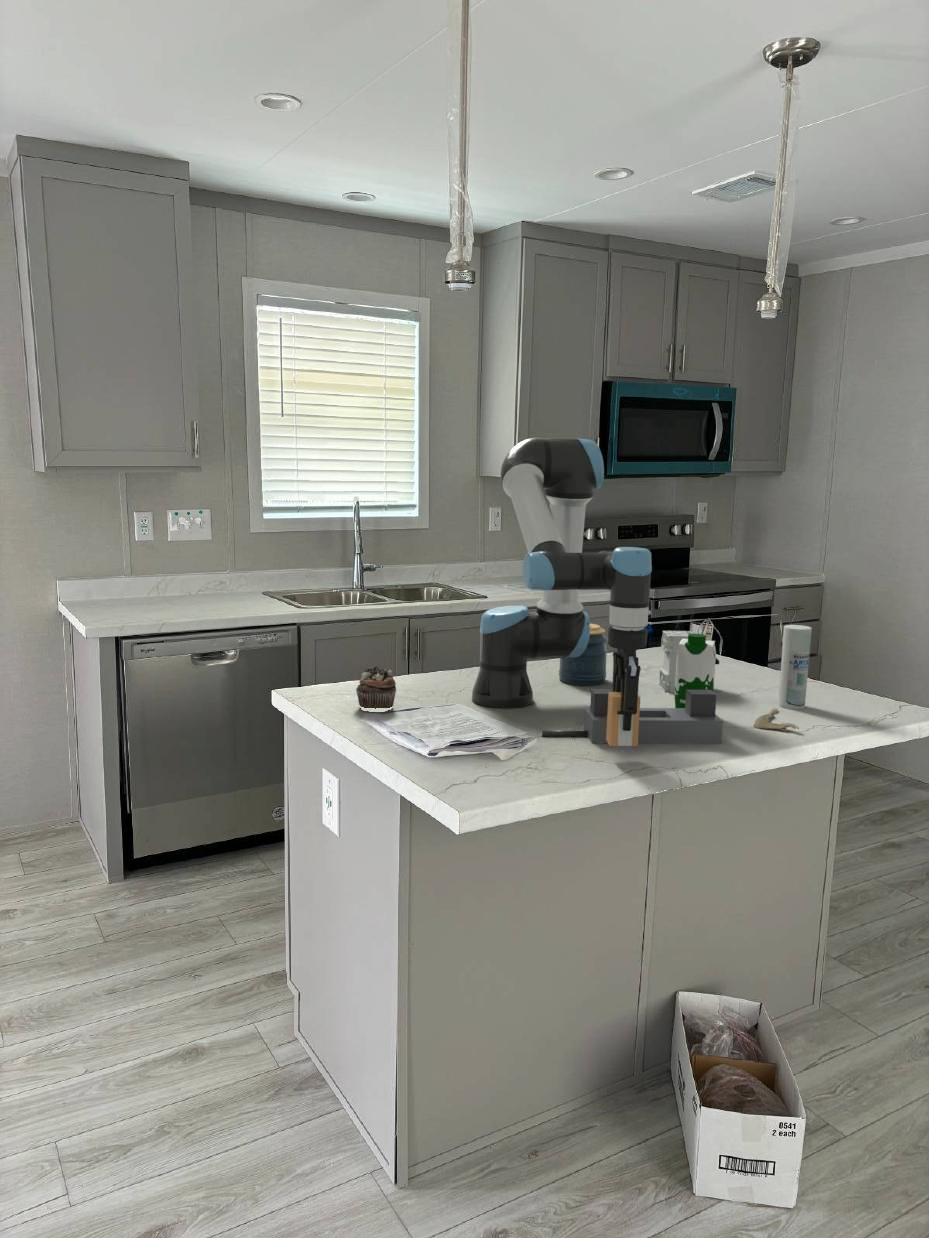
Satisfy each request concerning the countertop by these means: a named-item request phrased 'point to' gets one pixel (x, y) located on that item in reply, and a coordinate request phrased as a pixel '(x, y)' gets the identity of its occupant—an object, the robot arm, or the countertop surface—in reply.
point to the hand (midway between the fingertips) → (621, 741)
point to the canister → (587, 661)
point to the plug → (613, 719)
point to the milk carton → (694, 666)
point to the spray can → (794, 666)
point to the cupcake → (376, 689)
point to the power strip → (657, 720)
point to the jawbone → (765, 723)
